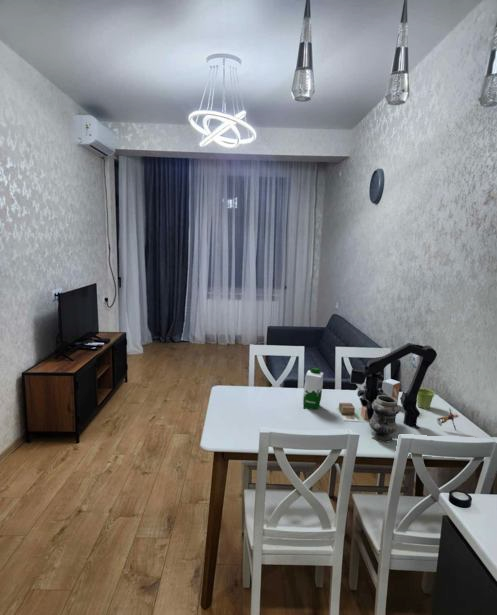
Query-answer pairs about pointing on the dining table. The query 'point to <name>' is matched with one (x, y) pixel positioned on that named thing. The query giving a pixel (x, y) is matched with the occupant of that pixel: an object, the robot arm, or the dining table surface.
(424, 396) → the plant pot
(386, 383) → the small box
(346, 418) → the board
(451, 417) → the action figure
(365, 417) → the pink knobbed block
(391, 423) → the ornate grey vase
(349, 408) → the walnut brick
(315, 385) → the milk carton
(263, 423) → the dining table surface
